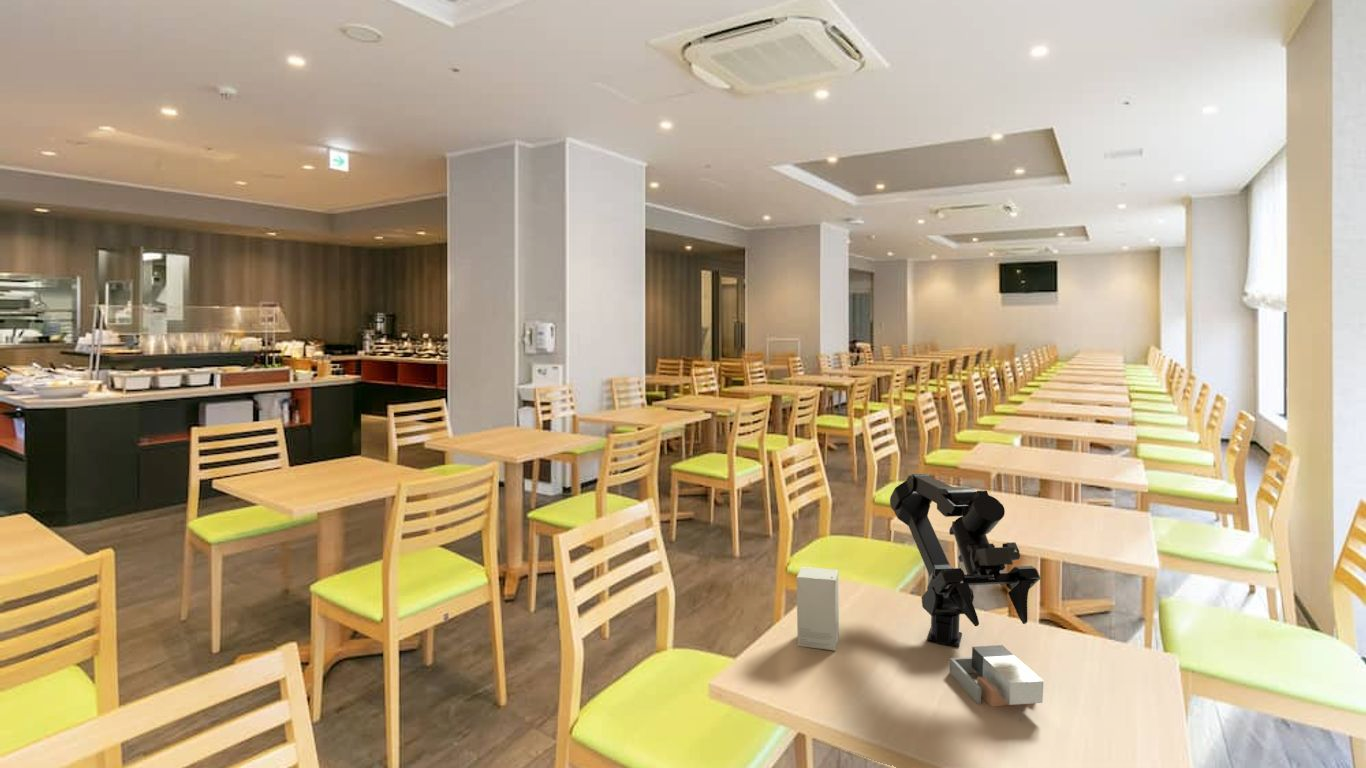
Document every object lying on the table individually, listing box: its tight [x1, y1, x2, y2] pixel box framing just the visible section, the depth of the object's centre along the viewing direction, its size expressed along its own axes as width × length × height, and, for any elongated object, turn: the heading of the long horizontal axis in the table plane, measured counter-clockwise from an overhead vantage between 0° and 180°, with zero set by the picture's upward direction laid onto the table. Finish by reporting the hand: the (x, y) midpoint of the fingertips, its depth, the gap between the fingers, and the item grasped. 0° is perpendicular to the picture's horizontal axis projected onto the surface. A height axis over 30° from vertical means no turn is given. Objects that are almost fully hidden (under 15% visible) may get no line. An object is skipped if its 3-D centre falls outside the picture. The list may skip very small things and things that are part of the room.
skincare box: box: [796, 566, 840, 651], centre depth 148 cm, size 8×7×16 cm
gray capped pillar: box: [971, 644, 1044, 706], centre depth 127 cm, size 4×6×13 cm
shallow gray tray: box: [949, 656, 982, 705], centre depth 132 cm, size 11×11×3 cm
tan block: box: [976, 676, 1020, 707], centre depth 128 cm, size 5×7×3 cm
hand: (1001, 624), depth 128 cm, fingers open, 9 cm apart
